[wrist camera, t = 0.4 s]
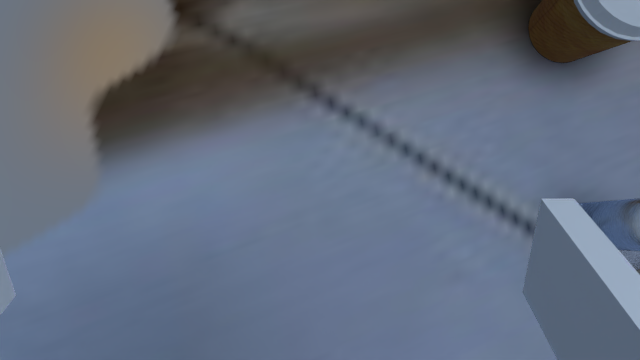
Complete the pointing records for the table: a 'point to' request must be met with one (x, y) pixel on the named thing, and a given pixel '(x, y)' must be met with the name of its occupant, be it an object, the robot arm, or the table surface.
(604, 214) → the peg
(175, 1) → the table surface
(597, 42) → the disposable coffee cup
